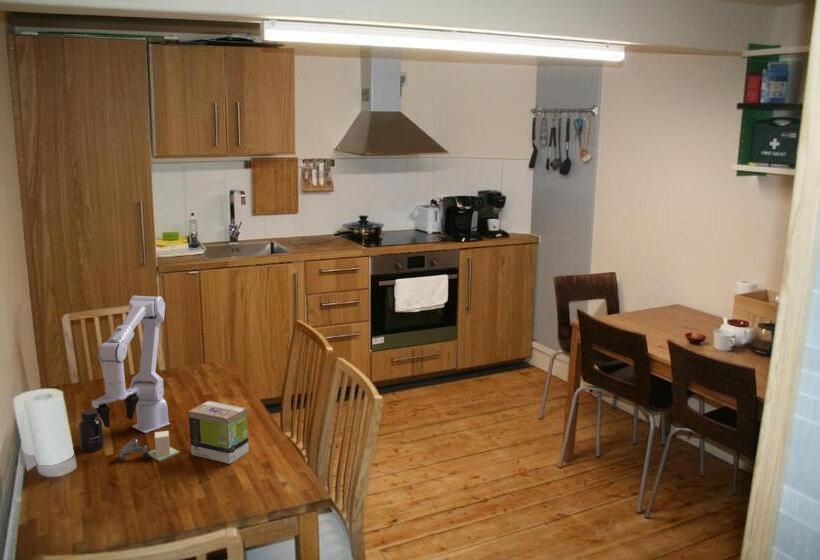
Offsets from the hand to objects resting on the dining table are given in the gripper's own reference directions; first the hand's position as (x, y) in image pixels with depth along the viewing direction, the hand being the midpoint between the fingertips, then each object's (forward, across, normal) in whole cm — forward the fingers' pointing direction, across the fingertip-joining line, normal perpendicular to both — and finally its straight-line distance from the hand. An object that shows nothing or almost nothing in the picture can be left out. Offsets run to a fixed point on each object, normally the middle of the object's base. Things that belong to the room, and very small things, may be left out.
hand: (118, 422), depth 228 cm
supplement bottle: (+10, -4, +10) cm, 15 cm away
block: (+9, +8, -11) cm, 16 cm away
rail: (+10, 0, -5) cm, 11 cm away
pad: (+10, +8, -11) cm, 17 cm away
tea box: (+10, +19, -24) cm, 32 cm away
